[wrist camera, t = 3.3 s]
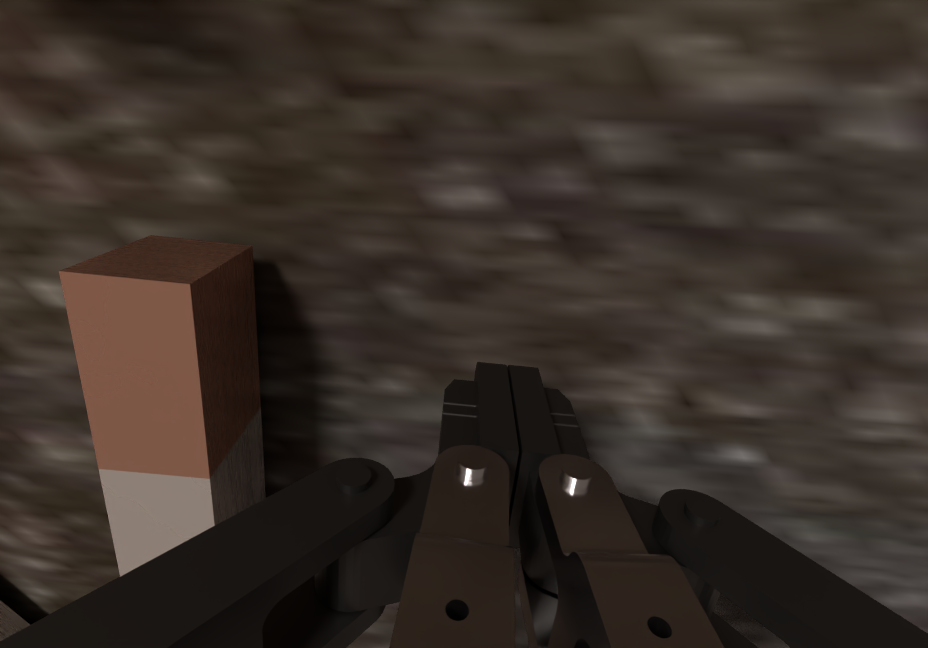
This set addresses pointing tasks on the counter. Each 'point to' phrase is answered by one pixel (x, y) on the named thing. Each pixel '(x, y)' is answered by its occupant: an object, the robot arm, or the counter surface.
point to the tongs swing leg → (169, 387)
